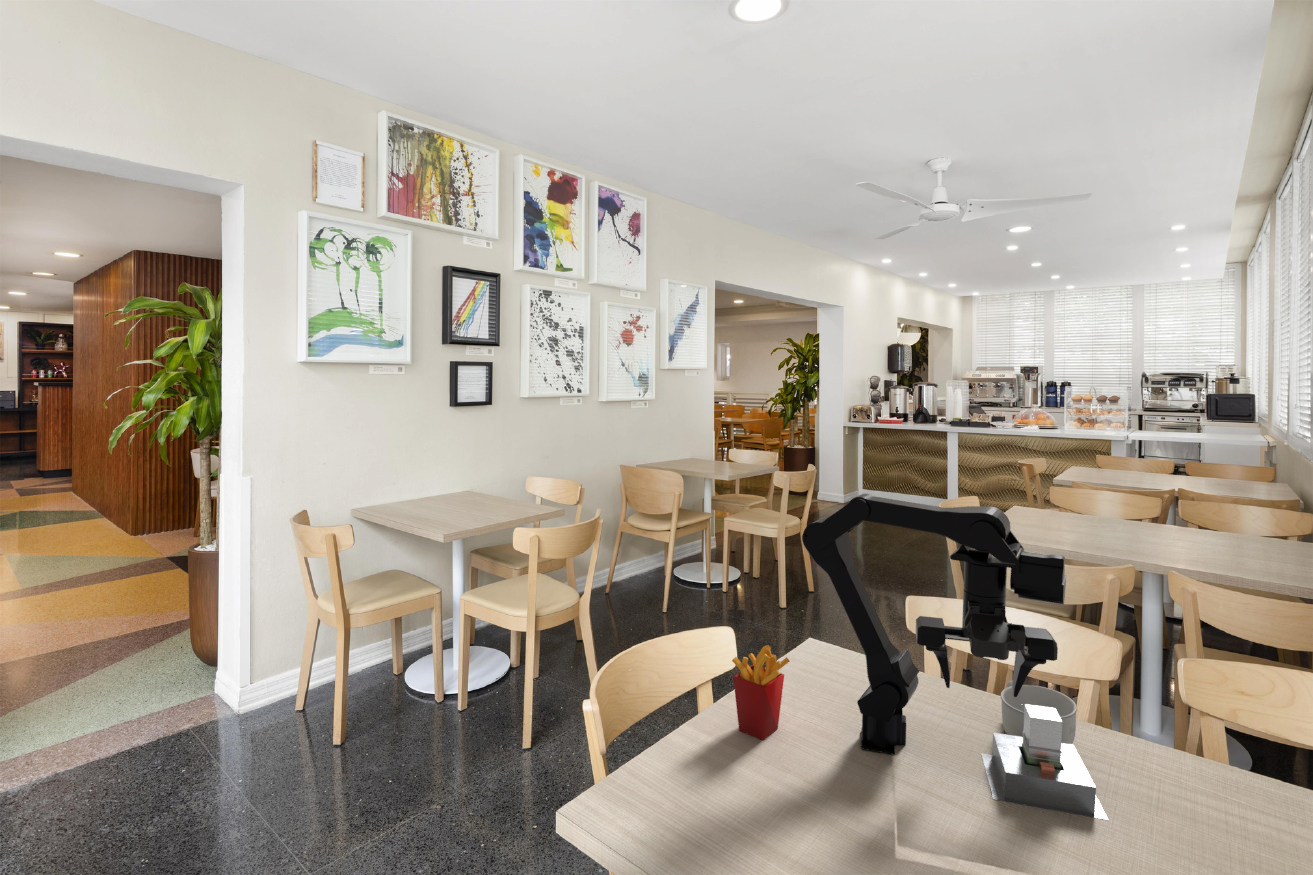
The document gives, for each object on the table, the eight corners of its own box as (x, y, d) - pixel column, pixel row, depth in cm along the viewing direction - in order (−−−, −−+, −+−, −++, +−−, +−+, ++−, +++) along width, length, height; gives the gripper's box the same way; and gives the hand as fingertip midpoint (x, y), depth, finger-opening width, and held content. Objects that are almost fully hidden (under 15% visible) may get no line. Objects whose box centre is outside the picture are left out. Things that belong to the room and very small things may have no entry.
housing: (993, 805, 93) (994, 765, 92) (980, 759, 104) (982, 723, 103) (1108, 826, 88) (1110, 784, 88) (1082, 775, 99) (1084, 738, 99)
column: (1027, 763, 94) (1029, 717, 94) (1021, 747, 98) (1023, 703, 98) (1060, 768, 93) (1063, 721, 92) (1053, 752, 97) (1055, 707, 96)
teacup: (1086, 767, 102) (1089, 718, 101) (1011, 759, 104) (1013, 711, 103) (1051, 721, 115) (1053, 677, 114) (985, 715, 117) (987, 672, 117)
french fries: (731, 730, 113) (731, 647, 112) (756, 712, 119) (757, 632, 118) (775, 749, 107) (776, 661, 106) (800, 728, 113) (801, 645, 112)
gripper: (920, 602, 93) (917, 706, 95) (1070, 617, 87) (1064, 728, 89) (916, 579, 104) (914, 674, 105) (1050, 591, 98) (1045, 691, 99)
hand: (980, 691), depth 99 cm, fingers open, 9 cm apart
